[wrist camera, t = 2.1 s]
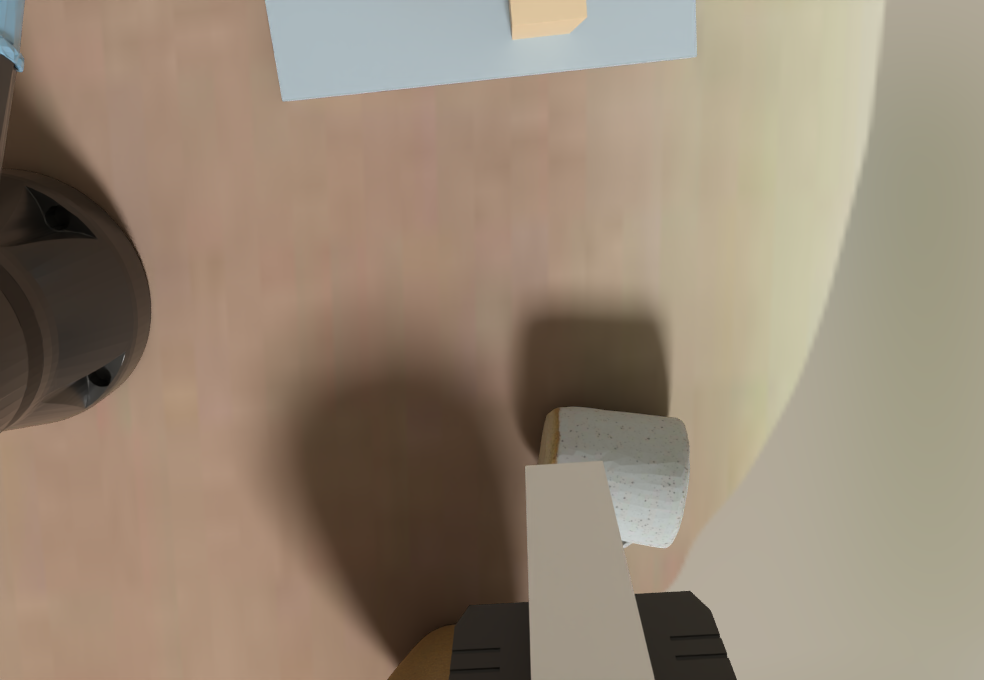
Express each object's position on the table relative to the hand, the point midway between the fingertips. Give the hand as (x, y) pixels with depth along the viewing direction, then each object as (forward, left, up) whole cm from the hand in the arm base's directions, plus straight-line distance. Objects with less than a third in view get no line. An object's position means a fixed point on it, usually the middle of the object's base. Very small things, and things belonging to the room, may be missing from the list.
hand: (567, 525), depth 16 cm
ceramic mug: (+3, -15, -33) cm, 36 cm away
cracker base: (-2, +15, -32) cm, 36 cm away
